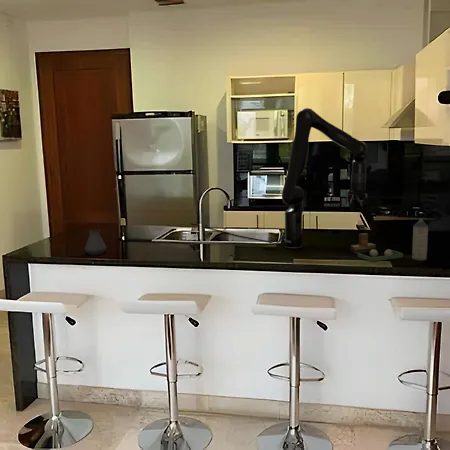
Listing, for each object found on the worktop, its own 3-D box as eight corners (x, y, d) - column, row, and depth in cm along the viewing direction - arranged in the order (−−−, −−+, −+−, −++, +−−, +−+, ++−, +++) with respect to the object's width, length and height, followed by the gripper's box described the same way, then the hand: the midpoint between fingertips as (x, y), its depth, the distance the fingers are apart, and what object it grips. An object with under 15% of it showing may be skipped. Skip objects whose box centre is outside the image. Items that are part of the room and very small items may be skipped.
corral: (356, 256, 269) (357, 252, 269) (388, 252, 276) (388, 248, 276) (371, 261, 259) (371, 257, 259) (403, 257, 266) (403, 253, 266)
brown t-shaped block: (349, 251, 280) (350, 234, 278) (370, 249, 285) (370, 231, 283) (355, 253, 276) (356, 235, 274) (376, 251, 280) (376, 233, 279)
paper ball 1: (373, 258, 265) (368, 257, 268) (379, 257, 266) (374, 256, 270) (372, 250, 264) (367, 249, 268) (379, 249, 266) (374, 248, 270)
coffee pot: (104, 255, 285) (102, 227, 282) (82, 256, 285) (80, 228, 282) (111, 246, 306) (110, 221, 303) (91, 247, 306) (89, 221, 303)
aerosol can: (423, 257, 265) (424, 217, 262) (429, 260, 258) (431, 219, 255) (409, 257, 265) (411, 218, 261) (415, 261, 258) (417, 220, 255)
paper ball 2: (382, 256, 268) (383, 248, 267) (388, 255, 269) (389, 248, 268) (387, 259, 264) (388, 251, 263) (393, 258, 266) (394, 250, 265)
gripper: (373, 182, 269) (372, 213, 272) (356, 179, 282) (354, 209, 285) (361, 182, 266) (359, 214, 269) (344, 180, 279) (343, 210, 282)
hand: (357, 212), depth 277 cm, fingers open, 8 cm apart
